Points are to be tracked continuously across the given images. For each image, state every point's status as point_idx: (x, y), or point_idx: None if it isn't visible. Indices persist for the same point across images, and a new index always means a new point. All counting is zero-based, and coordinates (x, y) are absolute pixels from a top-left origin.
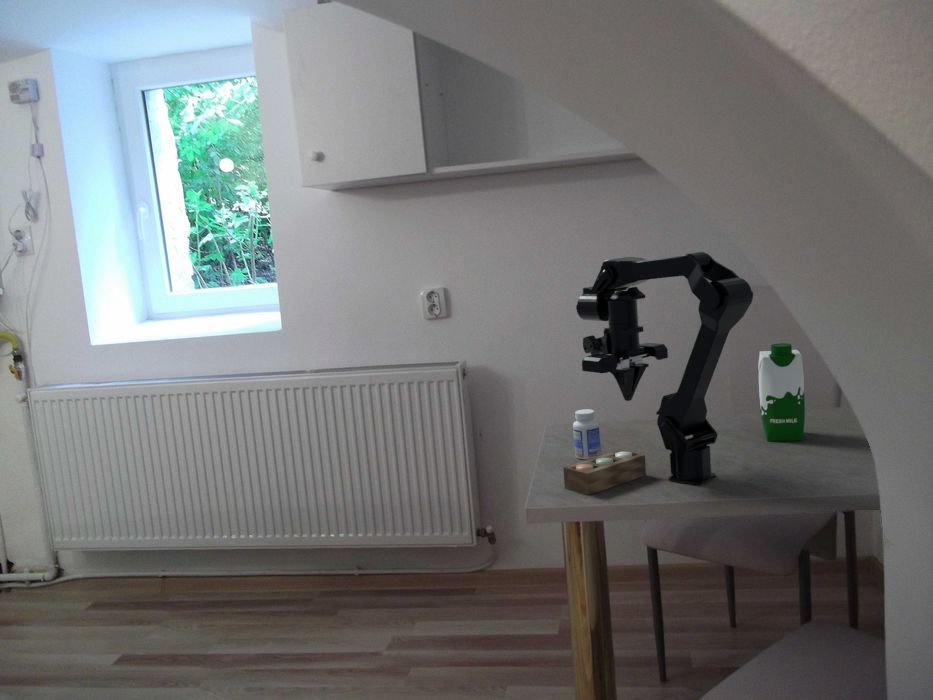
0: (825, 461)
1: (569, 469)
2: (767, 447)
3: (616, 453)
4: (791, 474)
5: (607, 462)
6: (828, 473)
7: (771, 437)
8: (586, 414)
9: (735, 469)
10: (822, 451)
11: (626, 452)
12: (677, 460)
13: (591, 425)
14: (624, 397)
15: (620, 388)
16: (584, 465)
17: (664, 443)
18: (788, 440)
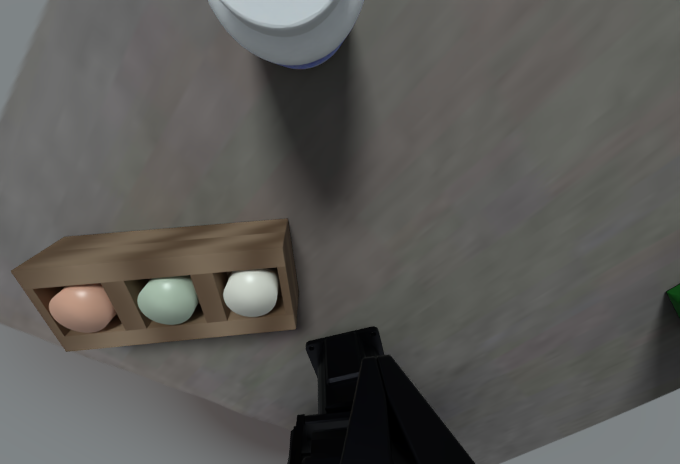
0: (556, 408)
1: (28, 294)
2: (615, 316)
3: (235, 281)
4: (467, 417)
5: (163, 323)
6: (497, 436)
7: (676, 303)
8: (241, 17)
9: (445, 363)
10: (614, 381)
11: (266, 292)
12: (319, 394)
13: (273, 57)
14: (360, 376)
15: (345, 447)
16: (83, 306)
17: (293, 430)
18: (678, 315)
